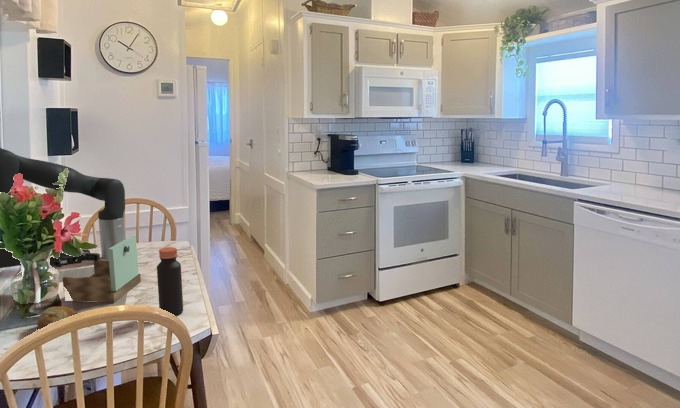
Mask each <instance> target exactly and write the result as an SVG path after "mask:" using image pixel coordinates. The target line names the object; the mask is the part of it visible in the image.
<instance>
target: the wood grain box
mask: <svg viewBox="0 0 680 408" xmlns="http://www.w3.org/2000/svg"><path fill="white" fill-rule="evenodd" d="M93 269H94V270H93V271H94V273H93V274H92V275H90V276H63V277H62V285H63V287H65V288H66V289H67V291H68V292H69V294H70V296H71V298H72V299H73V301H78V302H77V303H82V302H81V301H97V302H96V303H100V302H115V303H116V302H118V301H119V300H121V298H122V297H124V296H125V295H127V294H128V293H129V292H130V291H132V290H133V288H135V287H136V286H137V285H138V284H141V282H142V277H141V273H138V275H137V276H136V277H134V278H133V279H132V280H130V281H129V282H128V283H126V284H125V285H124V286H122V287H121V288H120V289H118V290H117V291H111V280H110V268H109V260H102V258H100V259H99V260H97V261H93ZM79 301H80V302H79Z"/></svg>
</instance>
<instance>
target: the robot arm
mask: <svg viewBox="0 0 680 408" xmlns="http://www.w3.org/2000/svg"><path fill="white" fill-rule="evenodd" d="M65 168H68V170H69V173H68V177H67V182H66V185H65V188H64V191H63V193H73V194H74V193H76V194H82V195H85V196H88V197H91V198H93V199H96V200H99V201H103V202H104V208H103V209H101V210H99V211H98V213H97V216H98V217H97V218H98V227H99V228H98V229H99V238H100V240H99V241H100V251H101V254H100V253H99V252H91V251H90V249H87V250H82V254H81V256H79V257H73V256H69V255H66V254H64V253H62V252H61V253H60V257H59V258H58V259H56V258H53V257H51V258H50V265H51V266H52V267H51V268H62V267H64V266H69V265H76V264H81V263H83V262H87V261H88V262H89V261H90V262H92V261H93V262H94V261H97V260H99V259H101V260H109V256H108V249H109V248H111V247H113V246H114V245H116V244H118V243H120V242H122V241H123V240H125V239H126V229H125V219H124V218H125V216H124V213H125V210H126V192H125V186H124V183H123V182H122V181H121V180H119V179H116V178H109V177H99V176H98V177H97V176H90V175H85V174H83V173H81V172H79V171H78V170H76V169H74V168H72V167H69V166H66V165H63V164H58V163H54V162H50V161H46V160H40V159H35V158H28V157H24V156H21V155H17V154H16V153H14V152H13V151H11V150H8V149H6V148H5V149H4V148H1V147H0V192H5V193H8V192H9V191H10V189H11V187H12V186H13V183H14V180H13V176H14V175H15V174H18V173H21V174H23V179H22V181H23V180H24V181H25V182H29V183H31V184H35V185H37V186H40V187H44V188H47V189H50V190H54V189H56V188H59V187H60V186H59V185H53V184H52V183H55V182H57V181H58V176H59V173H61V172H63V171H64V169H65ZM19 266H20V267H21V264H20V261H19V260H18V259H15V258H13V257H12V253H11V252H8V251H6V250H5V249H0V269H3V268H11V267H19Z"/></svg>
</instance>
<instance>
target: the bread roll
mask: <svg viewBox="0 0 680 408" xmlns="http://www.w3.org/2000/svg"><path fill="white" fill-rule="evenodd" d="M75 314H78V313H77V312H76V311H75V310H74V309H72V308H70V307H68V306H66V307H65V306H63V305H62V306H50V307H47V308H46V309H44V310H43V311H42V312H41V313H39V316H38V318H37V321H36V322H37V323H36V325H37V327H36V329H37V330H38V329H41V328H43V327H45V326H47V325H48V324H50V323H53V322H56V321H59V320H61V319H64V318H67V317H69V316H72V315H75Z"/></svg>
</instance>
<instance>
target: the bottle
mask: <svg viewBox="0 0 680 408" xmlns="http://www.w3.org/2000/svg"><path fill="white" fill-rule="evenodd" d="M158 255H159V259H160V262H159V263H158V264H157V266H156V273H157V274H156V276H157V292H158V294H157V295H158V306H159V307H158V308H161V309H163V310H166V311H168V312H170V313H172V314H174V315H177V316H179V315H181V314H182V313H183V311H184V299H183V297H184V296H183V295H184V294H183V282H182V281H183V280H182V277H183V275H182V266H181V263H180V262H179V261H178V260H177V258H178V248H177V247H172V246H171V247H167V246H166V247H163V248H160V249H158Z"/></svg>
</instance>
